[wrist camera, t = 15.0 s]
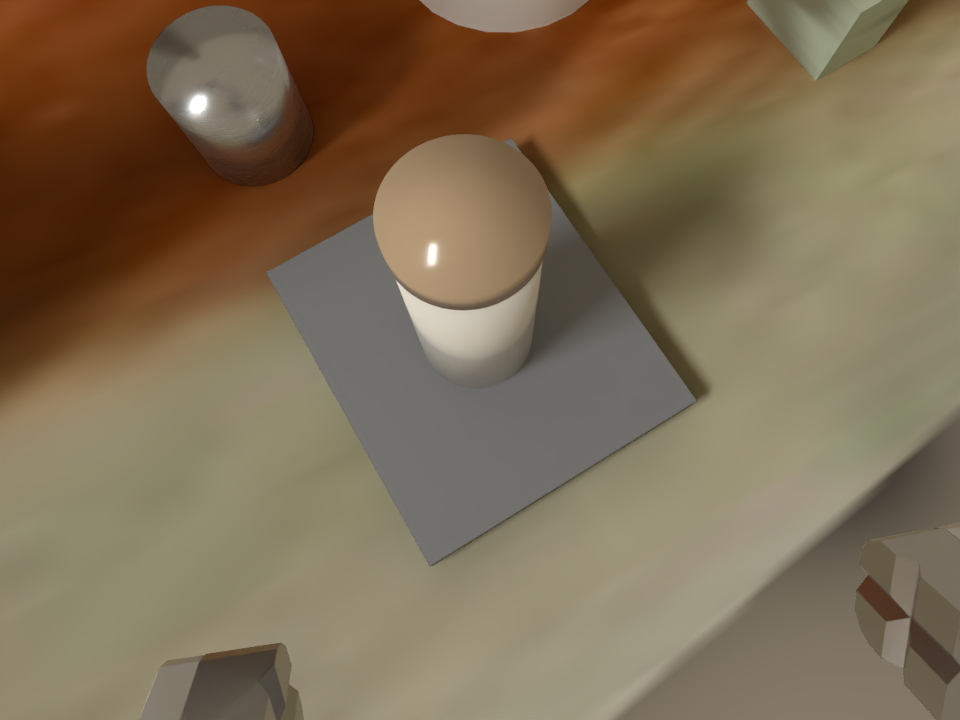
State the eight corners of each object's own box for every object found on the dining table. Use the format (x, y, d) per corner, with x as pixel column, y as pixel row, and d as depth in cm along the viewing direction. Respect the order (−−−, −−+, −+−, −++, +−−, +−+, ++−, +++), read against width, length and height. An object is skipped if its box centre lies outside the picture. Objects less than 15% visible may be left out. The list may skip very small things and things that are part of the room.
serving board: (274, 281, 35) (266, 272, 34) (510, 151, 37) (511, 137, 36) (432, 565, 31) (429, 566, 30) (689, 406, 33) (696, 400, 32)
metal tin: (184, 122, 38) (125, 45, 32) (281, 69, 39) (240, -16, 33) (233, 206, 36) (180, 141, 31) (333, 150, 37) (300, 76, 31)
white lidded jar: (399, 316, 33) (341, 187, 21) (496, 261, 34) (492, 105, 22) (456, 412, 32) (428, 329, 20) (556, 352, 32) (586, 239, 21)
